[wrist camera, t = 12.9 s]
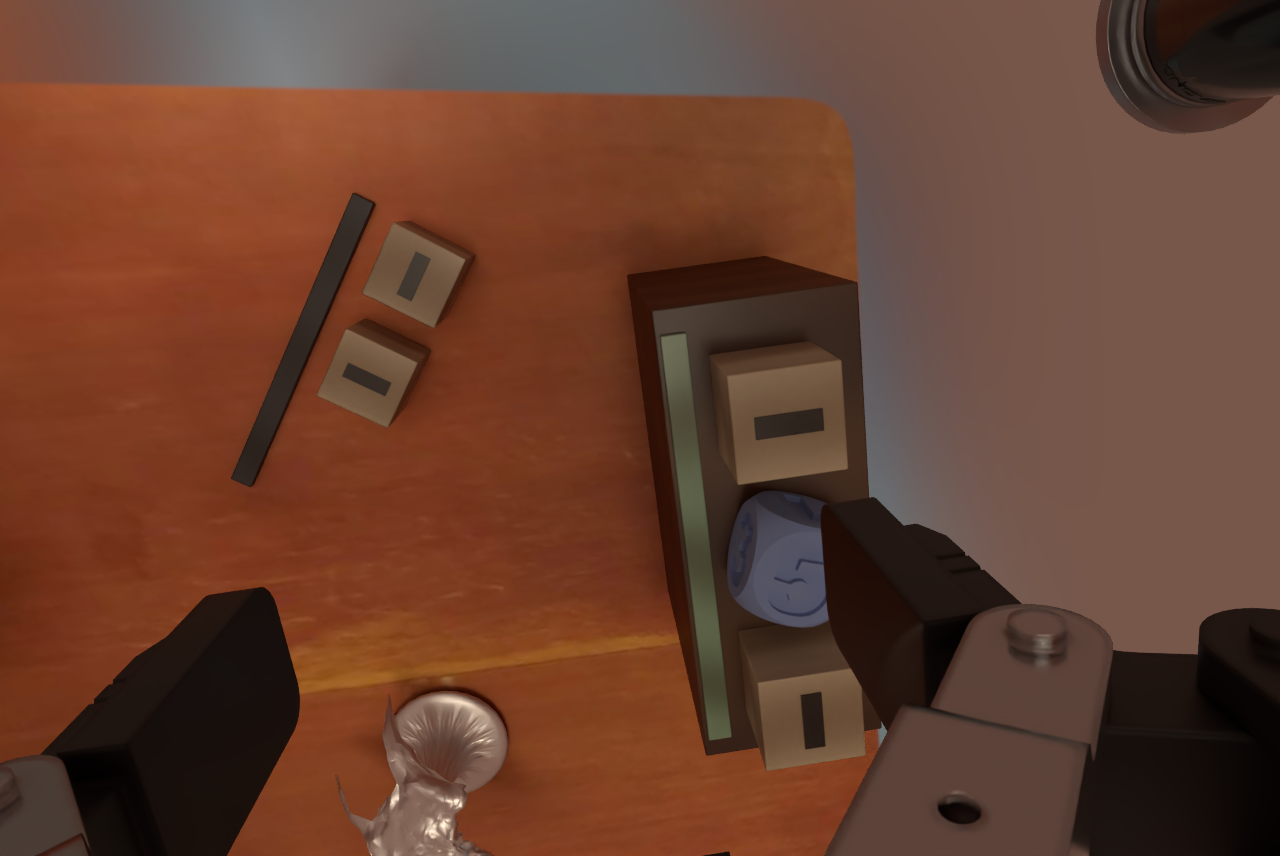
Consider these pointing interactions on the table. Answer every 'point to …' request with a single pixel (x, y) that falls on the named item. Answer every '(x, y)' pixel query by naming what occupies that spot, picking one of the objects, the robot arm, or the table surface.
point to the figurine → (433, 774)
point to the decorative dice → (779, 559)
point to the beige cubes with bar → (364, 328)
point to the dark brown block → (752, 484)
